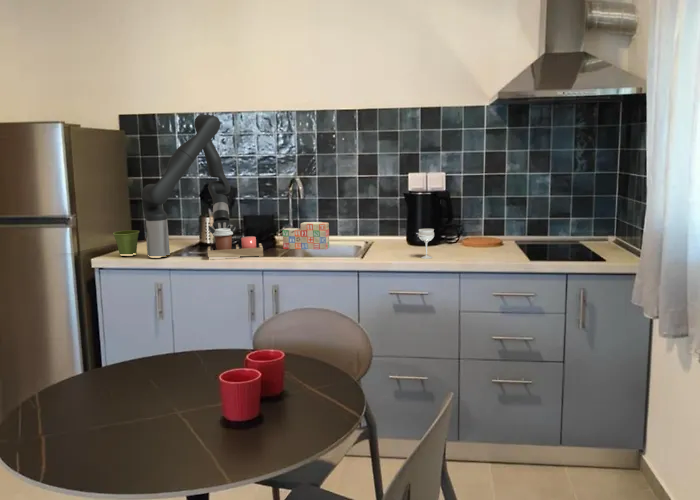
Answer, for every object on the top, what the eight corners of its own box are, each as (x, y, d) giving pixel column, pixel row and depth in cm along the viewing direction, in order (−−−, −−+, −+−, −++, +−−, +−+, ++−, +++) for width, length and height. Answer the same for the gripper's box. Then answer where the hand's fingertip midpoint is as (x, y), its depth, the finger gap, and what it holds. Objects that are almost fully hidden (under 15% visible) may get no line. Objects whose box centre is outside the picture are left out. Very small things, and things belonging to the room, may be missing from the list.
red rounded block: (239, 255, 299) (238, 238, 298) (249, 253, 304) (248, 236, 303) (249, 256, 295) (248, 238, 294) (259, 254, 301) (258, 236, 299)
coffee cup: (236, 255, 298) (235, 229, 296) (216, 257, 294) (214, 231, 292) (232, 252, 306) (230, 227, 304) (212, 254, 303) (210, 228, 300)
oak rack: (208, 255, 302) (208, 246, 302) (261, 251, 307) (260, 243, 306) (208, 260, 289) (207, 251, 289) (263, 256, 294) (262, 247, 293)
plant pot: (109, 257, 304) (106, 233, 302) (128, 253, 314) (126, 229, 312) (127, 259, 298) (125, 234, 296) (147, 254, 309) (145, 230, 307)
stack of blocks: (282, 249, 313) (281, 223, 311) (287, 247, 319) (285, 221, 317) (326, 249, 308) (325, 223, 306) (329, 247, 314) (328, 221, 312)
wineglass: (422, 259, 276) (421, 231, 274) (416, 256, 282) (415, 229, 280) (437, 258, 278) (436, 230, 276) (430, 255, 284) (430, 228, 282)
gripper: (206, 209, 309) (208, 239, 300) (235, 208, 312) (237, 237, 302) (207, 219, 316) (209, 249, 306) (235, 218, 318) (237, 247, 308)
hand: (223, 243), depth 304 cm, fingers closed
